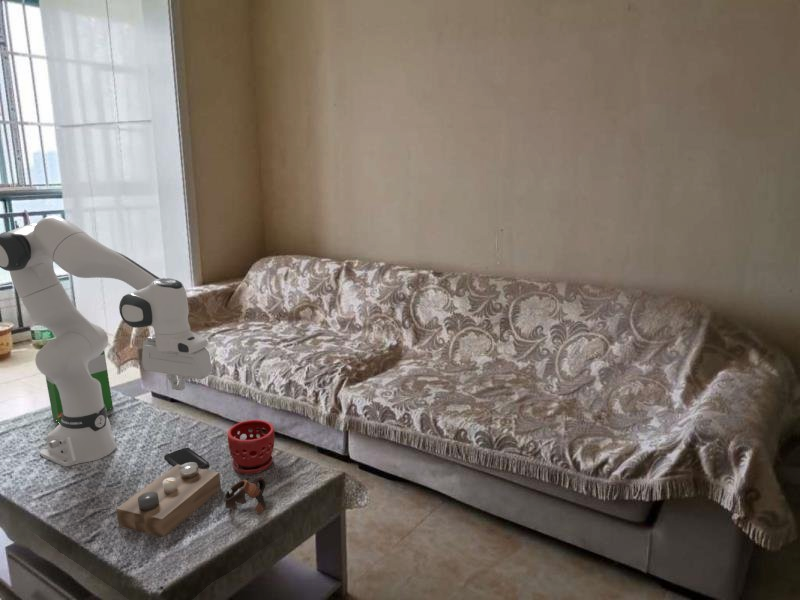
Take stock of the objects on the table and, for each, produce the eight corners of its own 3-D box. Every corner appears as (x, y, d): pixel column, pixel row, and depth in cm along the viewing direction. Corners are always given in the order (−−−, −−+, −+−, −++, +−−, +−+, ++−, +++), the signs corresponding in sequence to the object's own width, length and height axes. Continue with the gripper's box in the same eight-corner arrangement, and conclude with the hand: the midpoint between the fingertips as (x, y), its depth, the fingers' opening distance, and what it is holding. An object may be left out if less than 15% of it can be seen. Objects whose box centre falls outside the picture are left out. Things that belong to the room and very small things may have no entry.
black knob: (137, 525, 142) (133, 500, 141) (150, 514, 146) (147, 490, 145) (152, 528, 141) (148, 503, 139) (165, 517, 145) (162, 493, 143)
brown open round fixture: (255, 523, 144) (235, 499, 142) (232, 528, 149) (213, 505, 147) (281, 488, 153) (263, 465, 151) (258, 494, 158) (240, 471, 156)
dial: (160, 491, 148) (159, 482, 148) (169, 485, 151) (168, 475, 151) (171, 493, 147) (169, 484, 147) (179, 487, 150) (178, 477, 150)
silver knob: (178, 492, 156) (175, 469, 154) (190, 483, 160) (187, 461, 158) (192, 495, 154) (189, 472, 153) (203, 486, 159) (201, 463, 157)
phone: (187, 446, 180) (210, 463, 170) (187, 449, 181) (210, 466, 170) (162, 455, 175) (184, 473, 165) (162, 459, 175) (185, 477, 165)
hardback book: (105, 402, 216) (95, 341, 211) (113, 408, 211) (103, 346, 206) (53, 418, 204) (41, 354, 198) (60, 424, 199) (48, 359, 193)
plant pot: (224, 478, 163) (220, 439, 161) (239, 454, 176) (235, 418, 173) (270, 478, 163) (266, 440, 160) (281, 455, 176) (278, 419, 173)
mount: (118, 526, 143) (115, 508, 142) (179, 480, 163) (177, 464, 162) (164, 537, 138) (161, 519, 137) (221, 488, 158) (219, 472, 157)
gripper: (133, 339, 152) (139, 388, 156) (196, 348, 145) (201, 399, 149) (151, 332, 158) (156, 379, 162) (212, 340, 151) (216, 389, 155)
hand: (178, 389), depth 155 cm, fingers closed
